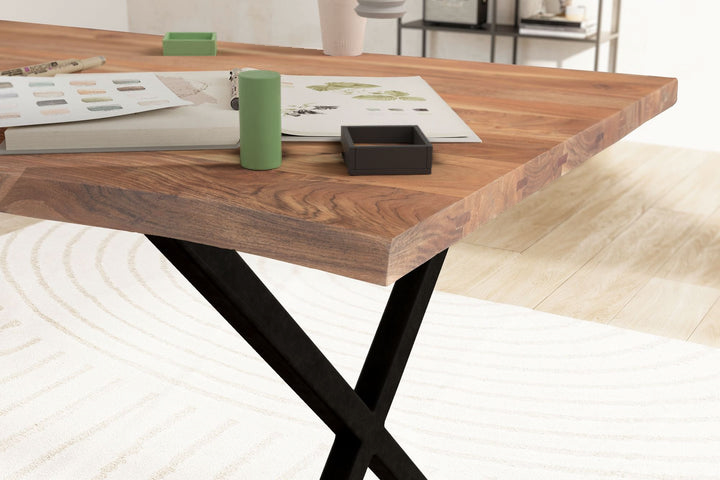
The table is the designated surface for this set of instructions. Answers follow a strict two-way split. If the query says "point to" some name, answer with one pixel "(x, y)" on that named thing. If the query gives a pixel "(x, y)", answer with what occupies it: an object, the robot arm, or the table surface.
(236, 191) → the table surface
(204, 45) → the green tray
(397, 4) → the rook chess piece
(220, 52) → the table surface
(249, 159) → the green peg
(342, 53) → the dixie cup
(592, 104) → the table surface
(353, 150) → the dark tray
